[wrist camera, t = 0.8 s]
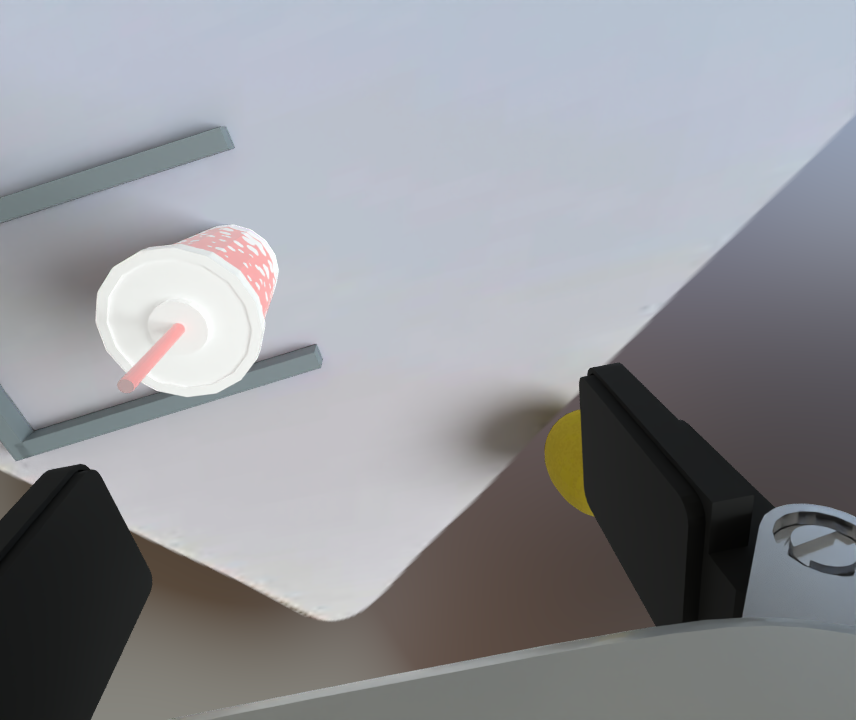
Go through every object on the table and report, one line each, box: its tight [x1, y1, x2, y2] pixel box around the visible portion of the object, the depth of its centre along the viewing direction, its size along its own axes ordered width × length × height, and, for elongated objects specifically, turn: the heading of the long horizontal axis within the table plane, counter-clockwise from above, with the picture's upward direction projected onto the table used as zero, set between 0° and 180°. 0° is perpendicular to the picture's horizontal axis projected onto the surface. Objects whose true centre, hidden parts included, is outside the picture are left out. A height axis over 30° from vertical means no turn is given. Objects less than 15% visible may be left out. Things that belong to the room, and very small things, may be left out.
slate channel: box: [0, 127, 323, 461], centre depth 28 cm, size 18×13×1 cm
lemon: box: [545, 410, 595, 517], centre depth 31 cm, size 6×6×8 cm
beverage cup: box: [95, 224, 279, 397], centre depth 22 cm, size 6×6×14 cm
